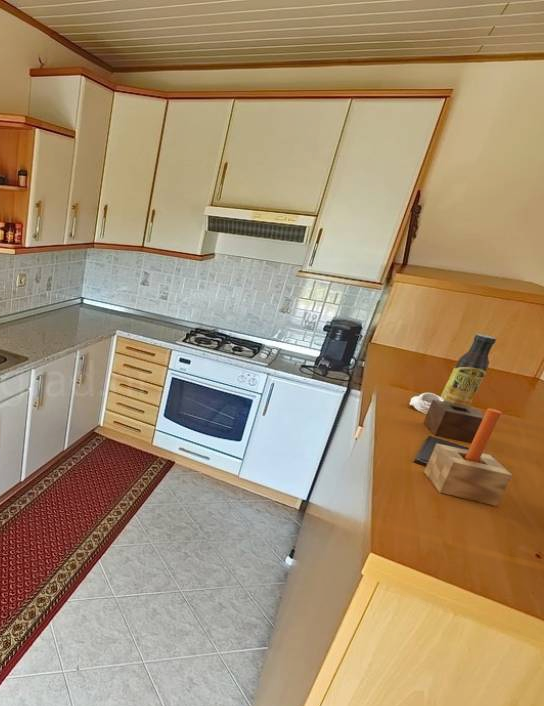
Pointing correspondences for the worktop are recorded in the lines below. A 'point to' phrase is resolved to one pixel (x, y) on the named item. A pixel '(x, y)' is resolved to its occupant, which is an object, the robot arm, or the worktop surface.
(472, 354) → the sauce bottle
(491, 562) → the worktop surface
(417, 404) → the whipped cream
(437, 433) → the block
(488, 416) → the orange rod
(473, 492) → the stand
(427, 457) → the tablet
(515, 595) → the worktop surface
